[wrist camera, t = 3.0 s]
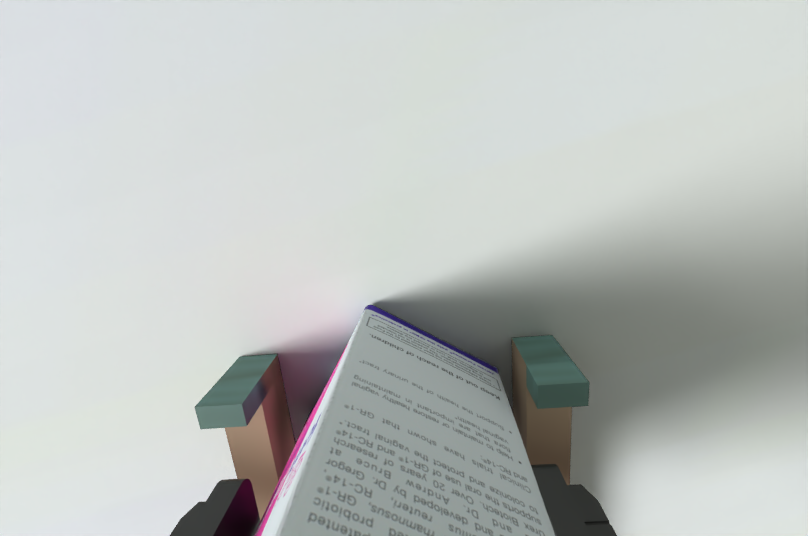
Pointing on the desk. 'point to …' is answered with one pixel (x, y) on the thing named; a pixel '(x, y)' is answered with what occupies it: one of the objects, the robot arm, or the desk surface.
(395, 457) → the supplement box
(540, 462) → the guide lane
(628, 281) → the desk surface
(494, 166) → the desk surface
